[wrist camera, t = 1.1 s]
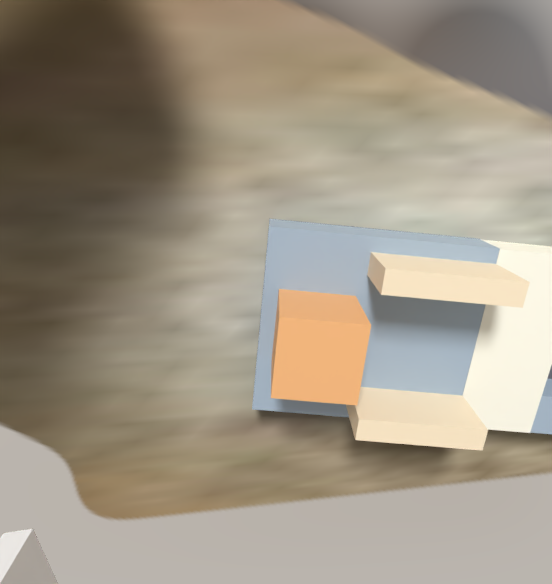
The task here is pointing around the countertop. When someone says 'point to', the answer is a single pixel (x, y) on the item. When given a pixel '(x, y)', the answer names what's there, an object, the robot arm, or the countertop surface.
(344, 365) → the block
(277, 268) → the tunnel deck
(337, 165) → the countertop surface
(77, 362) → the countertop surface
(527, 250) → the pad
